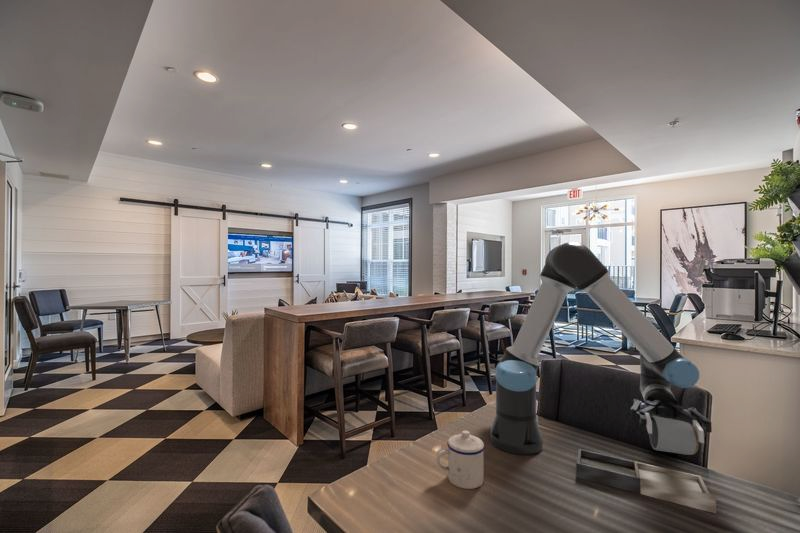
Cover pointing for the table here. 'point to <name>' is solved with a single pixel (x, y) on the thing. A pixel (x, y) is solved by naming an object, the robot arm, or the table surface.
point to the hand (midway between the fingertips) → (675, 432)
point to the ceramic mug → (673, 436)
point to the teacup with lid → (464, 460)
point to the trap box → (650, 481)
